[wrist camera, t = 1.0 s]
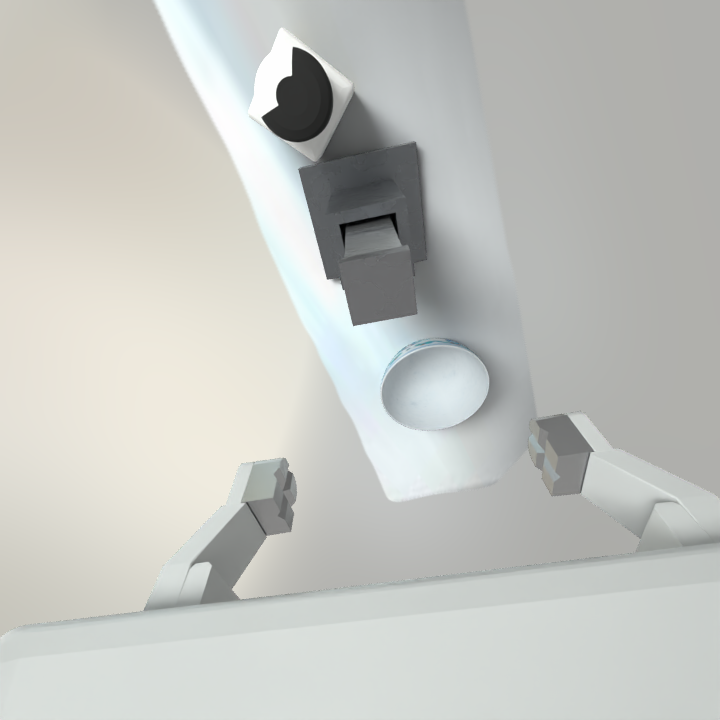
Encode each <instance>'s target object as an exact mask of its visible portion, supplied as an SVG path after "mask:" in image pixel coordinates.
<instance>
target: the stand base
mask: <svg viewBox="0 0 720 720" xmlns="http://www.w3.org/2000/svg"><path fill="white" fill-rule="evenodd" d="M298 170H299V174H300V177H301V181H302V185H303V189H304V193H305V197H306V200H307V204H308V208H309V212H310V216H311V220H312V223H313V227H314V231H315V235H316V239H317V243H318V246H319V250H320V254H321V258H322V262H323V266H324V269H325V273H326V277H327V280H328V279H333V278H338V277H340V280H341V284H342V288H343V290H344V286H343V281H342V277H341V273H340V269H339V264H338V262H339V259H341V258H344V256H345V235H346V223H348V222H352V221H357V220H362V219H367V218H371V217H376V216H381V215H385V214H389V216H390V219H391V221H392V224H393V226H394V228H395V231H396V233H397V236H398V238H399V240H400V243H401V245H402V246H404V245H408V247H409V249H410V256H411V264H412V273H413V276H415V273H414V264H413V262H418V261H423V260H427V257H426V246H425V236H424V225H423V214H422V204H421V193H420V182H419V172H418V161H417V151H416V142H414V141H413V142H409V143H405V144H400V145H396V146H392V147H387V148H383V149H379V150H374V151H370V152H366V153H361V154H357V155H353V156H348V157H344V158H340V159H335V160H331V161H327V162H322V163H318V164H314V165H309V166H305V167H300V168H299V169H298Z"/></svg>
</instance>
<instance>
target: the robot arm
mask: <svg viewBox="0 0 720 720" xmlns="http://www.w3.org/2000/svg"><path fill="white" fill-rule="evenodd" d="M529 429H530V430H531V432H532V434H531V435H530V437H529V438H528V448H529V453H530V456H531V459H532V461H533V463H534V465H535V467H537V468H538V469H540V470H542V471H543V473H542V479H543V481H544V483H545V485H546V487H547V488H548V490H549V492H550V494H551V496H559V495H569V494H578V493H581V495H582V496H583V497H585V498H586V499H588V500H589V501H590V502H591V503H593V504H594V505H595V506H597V507H598V508H600V509H601V510H602V511H604V512H605V513H607V514H608V515H609V516H610V517H612V518H613V519H614V520H616V521H617V522H619V523H620V524H621V525H623V526H624V527H625V528H627V529H628V530H629V531H631V532H632V533H633V534H635V535H636V536H637V537H639V538H640V539H641V540H640V542H639V545H638V547H637V550H636V552H635V553H628V554H620V555H611V556H602V557H594V558H586V559H577V560H569V561H561V562H552V563H544V564H536V565H527V566H519V567H510V568H502V569H493V570H485V571H476V572H468V573H460V574H451V575H443V576H435V577H426V578H419V579H410V580H401V581H393V582H385V583H377V584H368V585H360V586H351V587H343V588H335V589H326V590H318V591H309V592H302V593H293V594H285V595H276V596H267V597H259V598H251V599H242V600H240V599H239V597H238V596H237V595H236V594H235V593H234V591H232V588H233V586H234V585H235V584H236V582H237V581H238V579H239V578H240V576H241V575H242V573H243V572H244V570H245V569H246V567H247V566H248V564H249V563H250V561H251V560H252V558H253V557H254V555H255V554H256V552H257V551H258V549H259V548H260V546H261V545H262V543H263V542H264V540H265V539H266V536H267V535H274V534H280V533H286V532H291V529H292V522H293V516H294V512H293V510H292V508H291V506H292V505H293V504H294V503H295V501H296V496H297V487H296V481H295V477H294V475H293V473H291V472H290V471H288V467H289V464H288V462H287V460H286V458H278V459H272V460H263V461H256V462H250V463H242V464H241V465H240V466H239V468H238V471H237V473H236V476H235V479H234V482H233V485H232V488H231V491H230V494H229V497H228V500H227V503H226V505H225V506H221V507H220V508H219V509H218V510H217V511H216V512H215V513H214V514H213V515H212V516H211V517H210V518H209V519H208V520H207V521H206V522H205V523H204V525H203V526H202V527H201V528H200V529H199V530H198V531H197V532H196V533H195V534H194V535H193V536H192V537H191V538H190V539H189V540H188V541H187V542H186V543H185V544H184V545H183V546H182V547H181V548H180V549H179V550H178V551H177V552H176V553H175V554H174V556H172V557H171V559H169V560H168V562H167V563H166V564H165V565H164V566H163V567H162V569H161V572H160V574H159V576H158V579H157V581H156V583H155V586H154V588H153V590H152V592H151V595H150V597H149V599H148V601H147V604H146V606H145V608H144V611H140V612H132V613H124V614H116V615H107V616H99V617H90V618H81V619H73V620H64V621H56V622H47V623H38V624H30V625H24V626H19V627H17V628H14V629H12V630H10V631H8V632H7V633H6V634H4V635H3V636H1V637H0V720H720V499H719V498H718V497H717V496H716V495H715V494H713V493H711V492H709V491H707V490H705V489H703V488H700V487H698V486H696V485H694V484H692V483H690V482H688V481H686V480H684V479H682V478H680V477H678V476H676V475H674V474H671V473H669V472H667V471H665V470H663V469H661V468H659V467H657V466H655V465H653V464H651V463H649V462H647V461H644V460H642V459H640V458H638V457H636V456H634V455H632V454H630V453H628V452H626V451H624V450H622V449H620V448H619V449H614V448H613V447H612V445H611V444H610V443H609V442H608V441H607V440H606V439H605V437H604V436H603V435H602V434H601V432H600V431H599V430H598V429H597V428H596V426H595V425H594V424H593V423H592V422H591V420H590V419H589V418H588V417H587V416H586V414H585V413H584V412H581V411H577V412H571V413H566V414H559V415H553V416H547V417H541V418H535V419H531V421H530V424H529Z"/></svg>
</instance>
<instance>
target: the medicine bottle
mask: <svg viewBox="0 0 720 720" xmlns="http://www.w3.org/2000/svg"><path fill="white" fill-rule="evenodd" d="M254 92H255V95H254V98H253V100H252V103H251V106H250V108H249V111H248V115H249V117H250V118H251V119H253V120H254V121H256V122H257V123H259V124H260V125H261V126H263V127H264V128H266V129H267V130H269V131H270V132H272V133H273V134H274V135H276V136H277V137H279V138H280V139H282V140H283V141H285V142H286V143H287V144H289V145H290V146H292V147H293V148H295V149H296V150H297V151H299V152H300V153H302V154H303V155H305V156H306V157H308V158H309V159H310V160H312V161H314V162H317V161H318V160H319V159H320V157H321V156H322V155H323V153H324V151H325V149H326V147H327V145H328V143H329V141H330V139H331V137H332V135H333V133H334V131H335V129H336V127H337V125H338V124H339V122H340V120H341V118H342V116H343V114H344V112H345V110H346V108H347V106H348V104H349V102H350V100H351V98H352V96H353V93H354V84H353V83H352V82H351V81H350V80H349V79H348V78H346V77H345V76H344V75H343V74H341V73H340V72H339V71H338V70H336V69H335V68H334V67H333V66H331V65H330V64H329V63H328V62H326V61H325V60H324V59H323V58H321V57H320V56H319V55H318V54H316V53H315V52H314V51H313V50H311V49H310V48H309V47H308V46H306V45H305V44H304V43H303V42H301V41H300V40H299V39H298V38H296V37H295V36H294V35H293V34H291V33H290V32H289V31H288V30H287V29H285V28H281V29H280V30H279V32H278V35H277V38H276V40H275V43H274V45H273V48H272V51H271V53H270V54H269V55H268V56H266V58H265V59H264V60H263V61H262V63H261V65H260V67H259V69H258V71H257V75H256V79H255V91H254Z"/></svg>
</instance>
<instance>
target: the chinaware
mask: <svg viewBox="0 0 720 720" xmlns="http://www.w3.org/2000/svg"><path fill="white" fill-rule="evenodd" d="M489 384H490V381H489V374H488V371H487V369H486V367H485V365H484V363H483V362H482V361H481V360H480V358H479V357H478V356H477V355H476V354H474V353H473V352H472V351H471V350H469V349H468V348H466V347H465V346H463V345H461V344H459V343H457V342H454V341H451V340H447V339H442V338H429V339H423V340H419V341H416V342H414V343H411V344H409V345H408V346H406V347H404V348H403V349H402V350H401V351H399V352H398V353H397V354H396V355H395V356H394V358H393V359H392V360H391V362H390V363H389V365H388V367H387V368H386V371H385V373H384V376H383V379H382V384H381V391H380V394H381V401H382V405H383V407H384V409H385V411H386V412H387V414H388V415H389V416H390V417H391V418H392V419H393V420H395V421H396V422H397V423H399V424H401V425H403V426H405V427H408V428H411V429H415V430H422V431H434V430H441V429H445V428H449V427H452V426H455V425H457V424H459V423H461V422H463V421H465V420H466V419H468V418H469V417H471V416H472V415H473V414H474V413H475V412H476V411H477V410H478V409H479V408H480V407H481V405H482V404H483V402H484V401H485V399H486V397H487V394H488V391H489Z"/></svg>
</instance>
